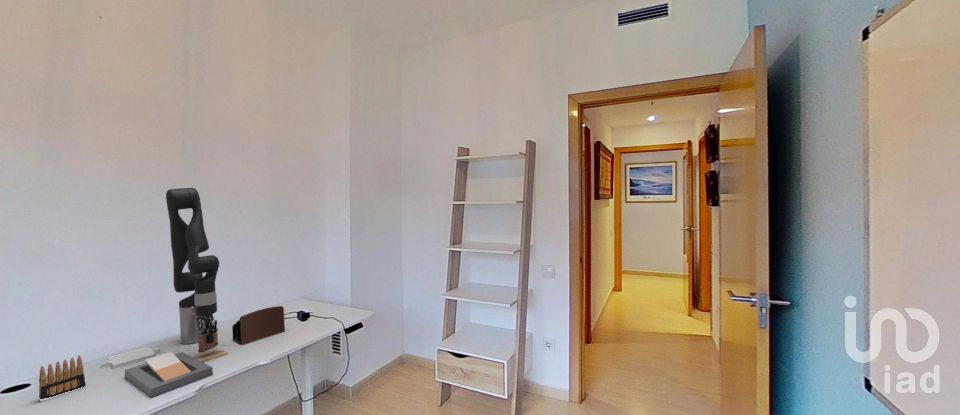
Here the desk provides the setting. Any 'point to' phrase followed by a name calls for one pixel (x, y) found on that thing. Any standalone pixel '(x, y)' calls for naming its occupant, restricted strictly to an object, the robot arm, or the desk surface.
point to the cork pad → (209, 354)
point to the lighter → (203, 341)
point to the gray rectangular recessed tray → (155, 386)
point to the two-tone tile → (167, 366)
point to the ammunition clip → (65, 384)
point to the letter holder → (259, 325)
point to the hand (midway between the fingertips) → (207, 341)
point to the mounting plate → (130, 357)
